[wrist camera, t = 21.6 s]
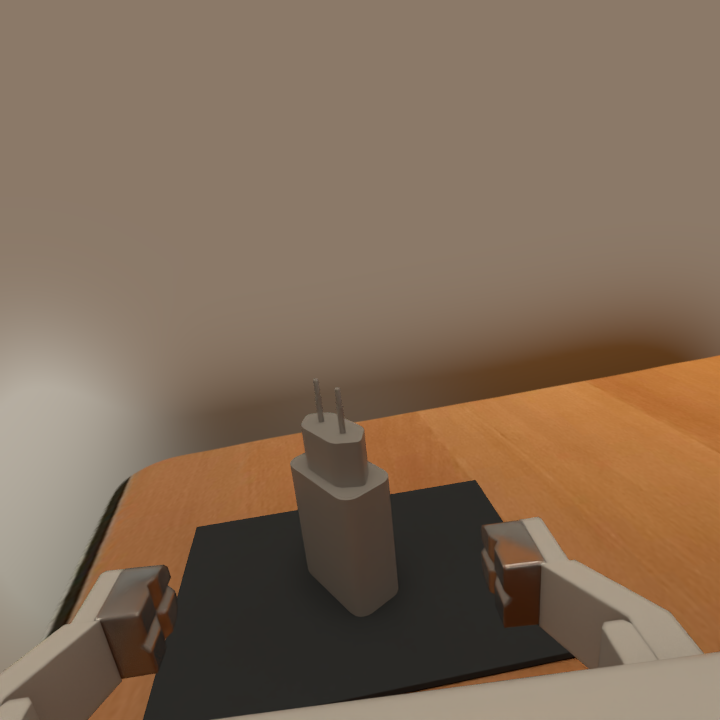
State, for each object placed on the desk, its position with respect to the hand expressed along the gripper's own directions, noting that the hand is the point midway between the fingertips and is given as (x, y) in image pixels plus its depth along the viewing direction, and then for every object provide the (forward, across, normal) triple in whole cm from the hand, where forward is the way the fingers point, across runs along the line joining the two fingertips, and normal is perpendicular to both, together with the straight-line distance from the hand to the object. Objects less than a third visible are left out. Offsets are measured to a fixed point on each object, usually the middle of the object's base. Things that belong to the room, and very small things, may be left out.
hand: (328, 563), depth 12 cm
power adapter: (+12, 0, +12) cm, 17 cm away
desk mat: (+12, 0, +12) cm, 17 cm away
